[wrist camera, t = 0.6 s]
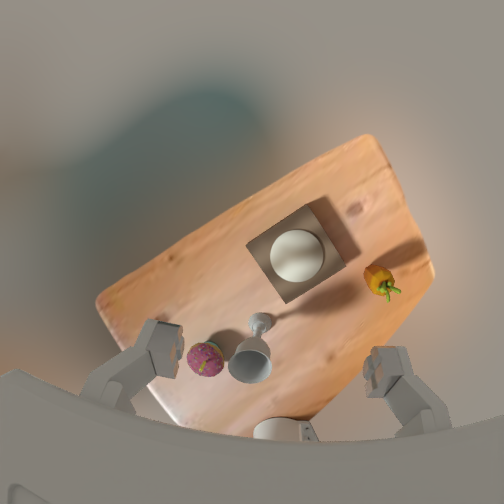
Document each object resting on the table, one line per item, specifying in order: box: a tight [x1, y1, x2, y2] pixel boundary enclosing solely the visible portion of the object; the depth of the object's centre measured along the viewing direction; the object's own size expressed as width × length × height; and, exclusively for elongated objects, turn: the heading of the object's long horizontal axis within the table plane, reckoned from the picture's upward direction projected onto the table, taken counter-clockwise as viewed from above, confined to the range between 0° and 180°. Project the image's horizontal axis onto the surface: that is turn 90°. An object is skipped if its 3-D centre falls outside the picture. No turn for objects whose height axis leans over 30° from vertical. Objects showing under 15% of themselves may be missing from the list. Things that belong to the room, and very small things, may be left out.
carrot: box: [364, 264, 401, 303], centre depth 51 cm, size 5×5×15 cm
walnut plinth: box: [246, 204, 346, 304], centre depth 57 cm, size 14×14×4 cm
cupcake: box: [187, 342, 224, 377], centre depth 60 cm, size 9×8×12 cm
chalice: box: [228, 313, 272, 384], centre depth 55 cm, size 7×7×18 cm
